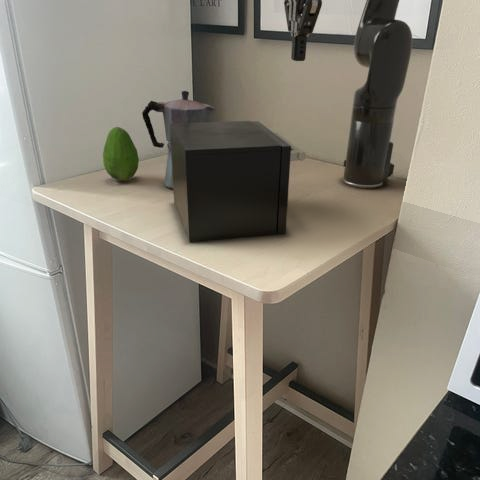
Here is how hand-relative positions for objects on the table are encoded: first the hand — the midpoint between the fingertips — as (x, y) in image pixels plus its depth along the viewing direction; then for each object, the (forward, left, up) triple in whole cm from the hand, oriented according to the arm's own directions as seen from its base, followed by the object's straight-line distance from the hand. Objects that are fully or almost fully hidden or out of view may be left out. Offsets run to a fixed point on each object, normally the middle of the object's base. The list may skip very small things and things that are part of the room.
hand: (298, 60), depth 90 cm
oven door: (+5, +5, -27) cm, 28 cm away
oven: (+16, +6, -27) cm, 32 cm away
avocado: (+33, -23, -27) cm, 49 cm away
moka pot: (+20, -16, -27) cm, 37 cm away
